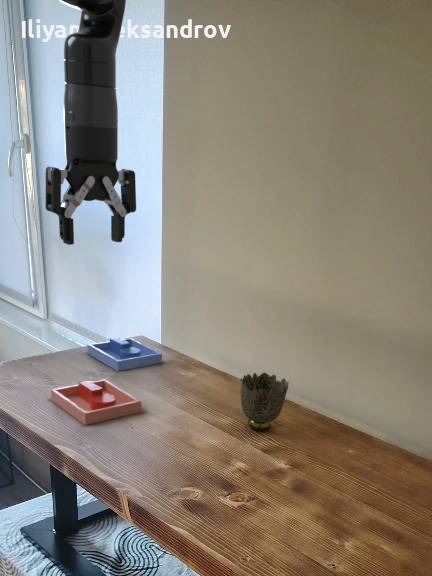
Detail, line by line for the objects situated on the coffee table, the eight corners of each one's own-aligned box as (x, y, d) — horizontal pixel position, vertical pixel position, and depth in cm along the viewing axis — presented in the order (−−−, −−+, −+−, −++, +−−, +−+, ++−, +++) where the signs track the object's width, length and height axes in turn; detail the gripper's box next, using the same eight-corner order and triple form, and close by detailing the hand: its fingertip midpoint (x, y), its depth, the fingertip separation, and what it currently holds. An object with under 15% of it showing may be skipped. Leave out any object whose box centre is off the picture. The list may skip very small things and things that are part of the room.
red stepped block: (73, 398, 104) (73, 383, 102) (94, 393, 106) (94, 379, 105) (98, 415, 98) (98, 399, 97) (120, 410, 101) (120, 395, 99)
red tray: (51, 400, 103) (50, 389, 102) (105, 389, 109) (105, 379, 108) (85, 425, 96) (85, 413, 95) (141, 411, 102) (141, 401, 101)
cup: (226, 425, 100) (230, 377, 96) (256, 414, 105) (262, 368, 101) (260, 442, 96) (266, 393, 92) (291, 430, 100) (298, 383, 96)
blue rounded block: (105, 351, 125) (105, 338, 124) (122, 348, 128) (122, 336, 126) (127, 363, 120) (127, 350, 119) (144, 360, 123) (144, 347, 121)
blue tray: (87, 353, 125) (87, 344, 124) (130, 346, 131) (130, 337, 130) (117, 371, 117) (117, 361, 116) (161, 362, 123) (162, 353, 122)
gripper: (119, 125, 96) (119, 237, 104) (32, 118, 88) (39, 240, 96) (147, 128, 91) (144, 245, 99) (58, 121, 83) (63, 249, 91)
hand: (93, 242), depth 97 cm, fingers open, 8 cm apart
